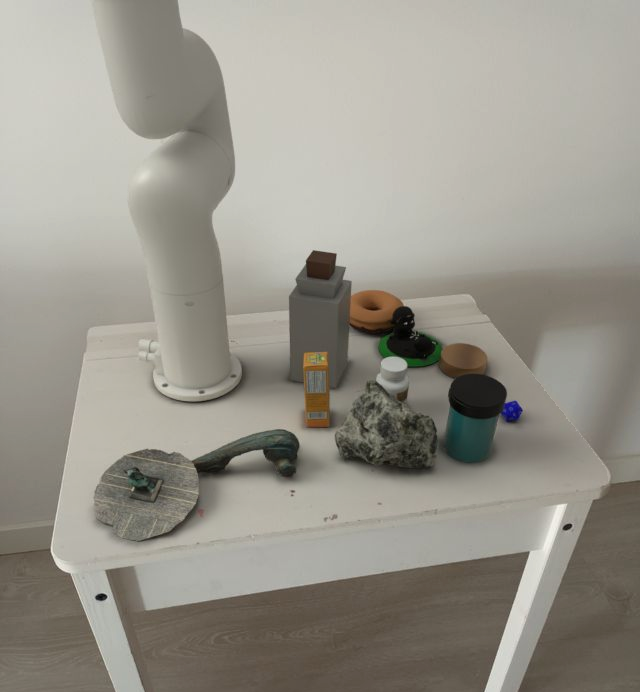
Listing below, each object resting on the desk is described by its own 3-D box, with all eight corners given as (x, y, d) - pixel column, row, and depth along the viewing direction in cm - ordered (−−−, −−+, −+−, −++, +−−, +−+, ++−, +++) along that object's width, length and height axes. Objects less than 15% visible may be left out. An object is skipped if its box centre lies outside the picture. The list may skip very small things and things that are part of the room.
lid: (444, 413, 78) (446, 401, 77) (451, 382, 83) (453, 369, 82) (502, 424, 76) (505, 411, 75) (505, 391, 81) (508, 378, 80)
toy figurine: (403, 373, 96) (406, 339, 92) (365, 341, 103) (367, 308, 99) (456, 355, 100) (462, 322, 96) (417, 325, 107) (421, 293, 103)
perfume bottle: (290, 380, 95) (288, 264, 83) (304, 355, 100) (304, 242, 88) (335, 388, 93) (339, 272, 82) (347, 362, 98) (353, 249, 87)
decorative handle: (293, 442, 84) (292, 411, 81) (305, 477, 79) (305, 446, 76) (174, 461, 81) (169, 430, 78) (180, 499, 76) (174, 467, 73)
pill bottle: (403, 422, 88) (409, 375, 83) (371, 418, 88) (375, 370, 83) (407, 403, 91) (413, 356, 86) (375, 399, 92) (379, 352, 87)
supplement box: (303, 412, 89) (303, 350, 83) (329, 412, 89) (330, 350, 83) (303, 428, 87) (303, 365, 80) (329, 428, 87) (331, 365, 80)
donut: (341, 316, 101) (341, 338, 104) (406, 317, 101) (404, 339, 104) (343, 285, 109) (343, 306, 112) (403, 286, 109) (401, 307, 111)
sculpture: (90, 466, 78) (117, 422, 74) (160, 479, 84) (190, 438, 80) (97, 551, 71) (128, 506, 67) (174, 559, 76) (207, 518, 72)
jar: (440, 457, 83) (449, 403, 77) (446, 428, 87) (455, 374, 82) (488, 466, 81) (502, 412, 76) (492, 436, 86) (505, 383, 80)
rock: (394, 495, 85) (438, 432, 85) (416, 508, 76) (464, 437, 77) (318, 441, 82) (364, 376, 83) (332, 448, 74) (383, 376, 74)
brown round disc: (436, 375, 96) (437, 364, 95) (442, 351, 101) (443, 340, 100) (483, 383, 95) (485, 372, 94) (486, 358, 100) (489, 347, 99)
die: (516, 428, 87) (505, 413, 86) (503, 423, 90) (493, 408, 88) (529, 413, 88) (519, 398, 86) (516, 409, 90) (506, 394, 89)
